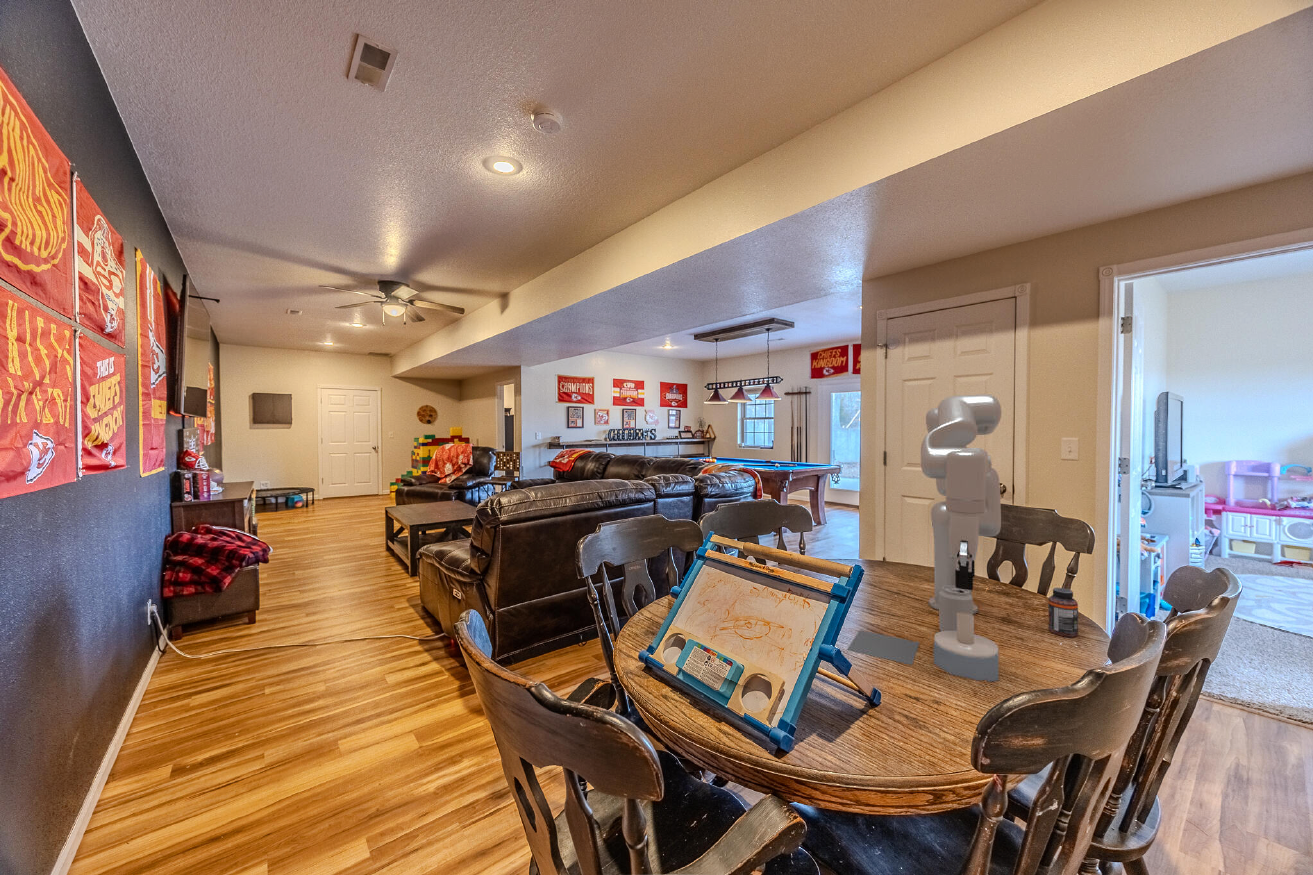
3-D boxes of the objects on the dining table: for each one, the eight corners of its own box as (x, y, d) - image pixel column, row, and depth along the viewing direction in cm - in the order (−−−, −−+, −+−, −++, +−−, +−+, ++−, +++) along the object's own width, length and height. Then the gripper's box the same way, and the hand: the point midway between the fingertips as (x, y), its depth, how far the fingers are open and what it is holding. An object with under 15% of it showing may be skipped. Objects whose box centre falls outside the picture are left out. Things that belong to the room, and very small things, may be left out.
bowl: (937, 651, 118) (937, 631, 118) (998, 664, 112) (998, 642, 112) (932, 672, 108) (932, 649, 108) (998, 687, 102) (998, 663, 102)
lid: (936, 630, 118) (936, 601, 118) (997, 642, 112) (997, 611, 112) (932, 649, 108) (931, 617, 108) (998, 663, 102) (998, 629, 102)
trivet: (859, 632, 130) (859, 630, 130) (919, 644, 122) (919, 642, 122) (846, 652, 119) (846, 649, 119) (911, 667, 111) (911, 664, 111)
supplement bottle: (1048, 626, 133) (1048, 584, 132) (1077, 632, 129) (1077, 589, 129) (1048, 633, 128) (1048, 590, 128) (1078, 640, 124) (1078, 595, 124)
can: (978, 641, 124) (978, 594, 124) (945, 639, 125) (945, 592, 125) (965, 629, 131) (965, 584, 131) (934, 627, 133) (934, 583, 132)
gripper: (948, 499, 119) (948, 569, 120) (942, 511, 105) (942, 590, 105) (986, 501, 115) (985, 574, 115) (984, 514, 100) (984, 597, 101)
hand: (965, 582), depth 110 cm, fingers open, 9 cm apart
